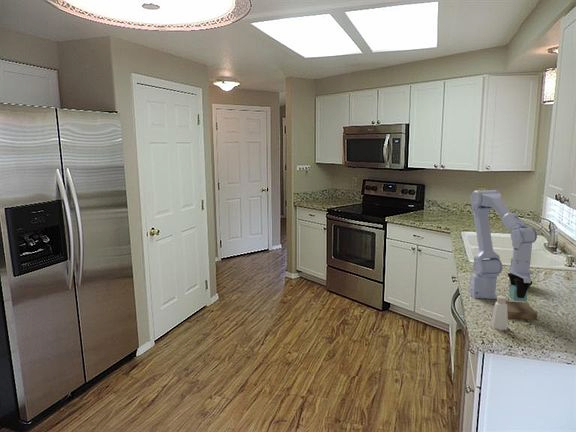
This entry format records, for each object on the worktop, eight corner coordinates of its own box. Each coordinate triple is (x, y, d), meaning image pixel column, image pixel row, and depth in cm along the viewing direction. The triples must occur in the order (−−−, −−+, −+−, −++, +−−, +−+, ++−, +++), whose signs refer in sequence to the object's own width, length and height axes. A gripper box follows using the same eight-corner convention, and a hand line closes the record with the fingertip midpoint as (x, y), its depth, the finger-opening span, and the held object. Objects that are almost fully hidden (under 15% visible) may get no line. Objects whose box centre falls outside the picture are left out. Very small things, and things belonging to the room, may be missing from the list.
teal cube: (513, 300, 147) (514, 289, 146) (509, 296, 152) (510, 284, 151) (526, 301, 146) (527, 289, 146) (521, 296, 151) (523, 285, 150)
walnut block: (506, 317, 146) (507, 311, 146) (497, 307, 156) (498, 300, 155) (536, 319, 144) (537, 313, 144) (525, 308, 154) (526, 302, 153)
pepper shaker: (491, 328, 138) (493, 298, 136) (489, 322, 143) (491, 293, 141) (508, 331, 136) (511, 300, 134) (506, 324, 141) (509, 294, 139)
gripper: (542, 266, 139) (538, 303, 141) (525, 254, 153) (522, 288, 155) (519, 265, 140) (516, 302, 142) (505, 254, 154) (502, 287, 156)
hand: (518, 295), depth 149 cm, fingers closed on teal cube, 4 cm apart
